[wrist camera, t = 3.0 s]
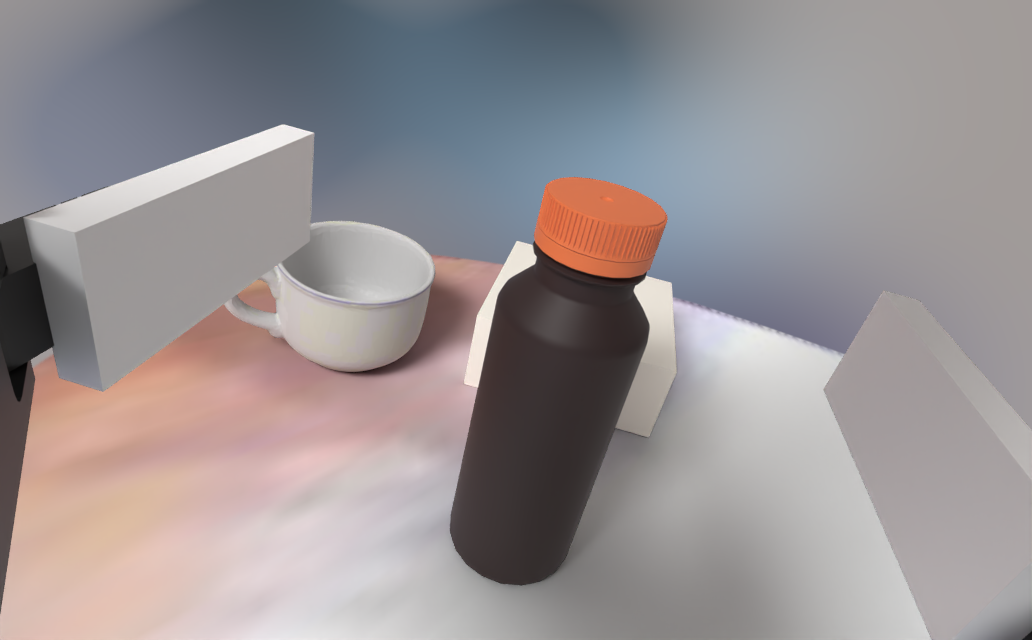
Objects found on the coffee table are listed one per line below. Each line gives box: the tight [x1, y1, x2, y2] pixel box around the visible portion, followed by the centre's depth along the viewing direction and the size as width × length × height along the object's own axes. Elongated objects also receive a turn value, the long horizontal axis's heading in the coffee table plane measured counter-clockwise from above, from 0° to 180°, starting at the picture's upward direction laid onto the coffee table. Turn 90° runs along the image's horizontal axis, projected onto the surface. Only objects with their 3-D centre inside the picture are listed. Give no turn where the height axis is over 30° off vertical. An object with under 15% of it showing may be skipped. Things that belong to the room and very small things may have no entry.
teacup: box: [224, 221, 435, 372], centre depth 42 cm, size 14×11×8 cm
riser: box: [464, 241, 677, 438], centre depth 48 cm, size 14×14×6 cm
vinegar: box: [450, 177, 667, 585], centre depth 28 cm, size 7×7×20 cm
